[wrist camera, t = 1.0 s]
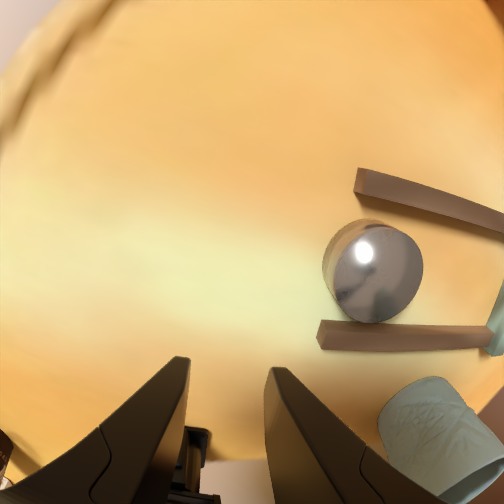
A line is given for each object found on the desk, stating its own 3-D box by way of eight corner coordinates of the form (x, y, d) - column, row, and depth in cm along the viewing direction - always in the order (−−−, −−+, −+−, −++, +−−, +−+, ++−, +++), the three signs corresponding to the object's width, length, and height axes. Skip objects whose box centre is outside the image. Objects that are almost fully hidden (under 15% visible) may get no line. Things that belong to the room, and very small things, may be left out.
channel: (488, 342, 24) (502, 355, 22) (314, 343, 22) (323, 363, 19) (531, 220, 20) (549, 227, 18) (359, 159, 18) (376, 161, 16)
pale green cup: (451, 410, 27) (499, 481, 15) (374, 451, 27) (408, 535, 16) (452, 352, 24) (524, 434, 12) (358, 403, 24) (406, 511, 13)
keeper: (387, 304, 21) (405, 324, 19) (312, 297, 21) (324, 319, 18) (410, 226, 20) (434, 238, 17) (333, 210, 19) (349, 221, 16)
